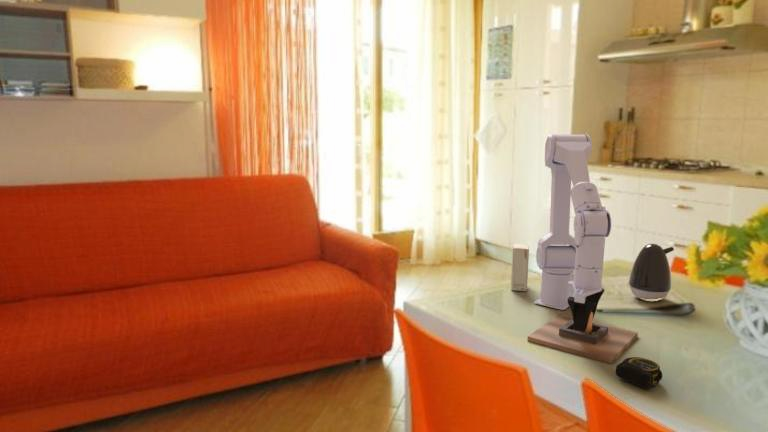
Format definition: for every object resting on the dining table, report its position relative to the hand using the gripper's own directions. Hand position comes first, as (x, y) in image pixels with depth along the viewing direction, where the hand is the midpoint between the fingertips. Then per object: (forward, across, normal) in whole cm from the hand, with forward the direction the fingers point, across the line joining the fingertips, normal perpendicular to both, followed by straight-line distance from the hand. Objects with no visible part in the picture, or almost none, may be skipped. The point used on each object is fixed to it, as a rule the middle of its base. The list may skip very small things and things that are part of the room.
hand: (584, 324), depth 125 cm
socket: (+3, 0, 0) cm, 3 cm away
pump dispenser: (+3, -37, +9) cm, 38 cm away
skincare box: (+3, -28, -24) cm, 36 cm away
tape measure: (+4, +16, +14) cm, 21 cm away
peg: (+2, 0, 0) cm, 2 cm away
